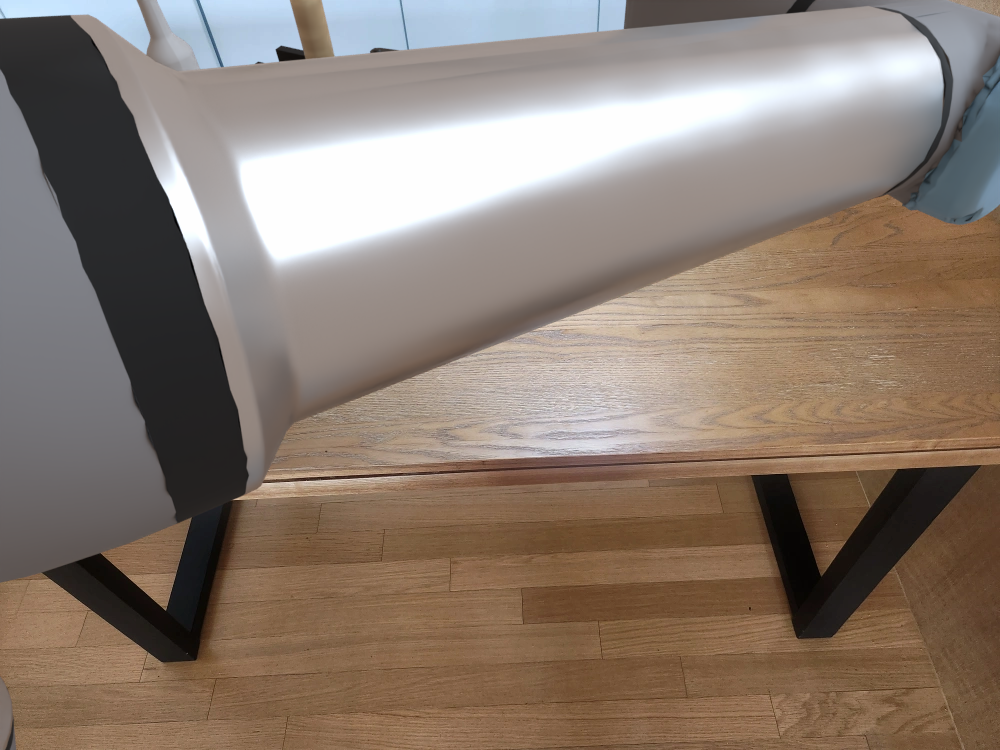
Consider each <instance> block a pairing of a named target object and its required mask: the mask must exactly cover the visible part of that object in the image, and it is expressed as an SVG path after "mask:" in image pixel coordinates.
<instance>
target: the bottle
mask: <svg viewBox="0 0 1000 750" xmlns="http://www.w3.org/2000/svg"><path fill="white" fill-rule="evenodd" d="M136 2H137V5H138V7H139V10H140V12H141V15H142V17H143V21H144V24H145V26H146V29H147V31H148V34H149V43H148V46H147V48H146V53H145V54H146V55H147V56H149V57H150V58H151V59H153V60H154V61H155V62H157V63H160V64H162V65H164V66H167V67H169V68H171V69H174V70H176V71H186V70H197V69H201V67H200V65H199V62H198V59H197V57H196V55H195V52H194V50H193V48H192V46H190V44H189V43H188V42H187V41H186V40H184V39H183V38H181V37H179V36H178V35H176V34H175V33H174V32H173V31H172V29H171V27H170V25H169V23H168V21H167V18H166V17H165V15H164V13H163V10H162V8H161V6H160V4H159V2H158V0H136Z"/></svg>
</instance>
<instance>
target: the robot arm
mask: <svg viewBox="0 0 1000 750" xmlns="http://www.w3.org/2000/svg"><path fill="white" fill-rule="evenodd" d="M275 53H276V56H277V60H278V61H271V62H263V61H257V62H255V63H252V64H242V65H241V64H240V65H231V66H230V65H229V66H219V67H210V68H200V69H197V70H186V71H176V70H174V69H171V68H169V67H167V66H164V65H162V64H160V63H157V62H155V61H154V60H153V59H151V58H150V57H149V56H147V55H146V54H147V53H145V52H143V51H142V50H140V49H139V48H138V47H137V46H135V45H133V43H131V42H129V41H128V40H127V39H125V38H124V37H123V36H121V35H120V34H119V33H117V31H115V30H113V29H112V28H110V27H109V26H108V25H106V24H105V23H103V21H101V20H100V19H98V18H97V17H96V16H92V15H90V14H62V15H44V16H43V15H42V16H24V17H23V16H22V17H5V18H2V17H1V18H0V584H1V583H5V582H10V581H15V580H18V579H19V580H20V579H23V578H29V577H31V576H35V575H38V574H42V573H45V572H47V571H51V570H53V569H57V568H60V567H62V566H65V565H68V564H72V563H75V562H78V561H80V560H84V559H86V558H89V557H93V556H95V555H98V554H101V553H104V552H108V551H111V550H114V549H116V548H120V547H123V546H125V545H128V544H131V543H133V542H135V541H138V540H141V539H143V538H146V537H148V536H151V535H153V534H156V533H158V532H160V531H163V530H166V529H167V528H170V527H172V526H175V525H178V524H180V523H182V522H185V521H187V520H189V519H192V518H194V517H197V516H199V515H201V514H203V513H206V512H209V511H210V510H213V509H215V508H217V507H220V506H222V505H224V504H227V503H229V502H231V501H234V500H236V499H239V498H241V497H243V496H245V495H248V494H249V493H251V492H254V491H256V490H258V489H259V488H260V487H262V485H263V483H264V481H265V480H266V477H267V474H268V472H269V470H270V468H271V466H272V464H273V462H274V459H275V457H276V455H277V453H278V451H279V449H280V447H281V444H282V443H283V440H284V438H285V436H286V434H287V432H288V430H290V428H292V427H293V425H295V424H296V423H298V422H301V421H303V420H306V419H308V418H311V417H314V416H316V415H318V414H321V413H324V412H327V411H330V410H331V409H334V408H337V407H339V406H341V405H344V404H347V403H350V402H352V401H355V400H357V399H359V398H362V397H365V396H367V395H370V394H373V393H376V392H378V391H381V390H383V389H386V388H389V387H392V386H393V385H396V384H399V383H402V382H404V381H406V380H409V379H412V378H414V377H417V376H420V375H422V374H425V373H427V372H430V371H432V370H434V369H437V368H440V367H442V366H445V365H448V364H450V363H453V362H455V361H459V360H460V359H463V358H466V357H469V356H470V355H474V354H477V353H478V352H481V351H484V350H486V349H489V348H491V347H494V346H497V345H499V344H502V343H504V342H507V341H510V340H513V339H514V338H517V337H520V336H523V335H525V334H527V333H530V332H533V331H536V330H538V329H541V328H543V327H545V326H548V325H550V324H553V323H556V322H558V321H561V320H564V319H567V318H569V317H571V316H574V315H577V314H579V313H581V312H584V311H588V310H589V309H592V308H595V307H597V306H600V305H603V304H605V303H607V302H610V301H613V300H615V299H618V298H620V297H623V296H625V295H628V294H631V293H633V292H636V291H639V290H641V289H644V288H646V287H648V286H651V285H654V284H656V283H660V282H661V281H664V280H667V279H668V278H672V277H674V276H677V275H680V274H682V273H684V272H688V271H690V270H693V269H695V268H698V267H701V266H704V265H705V264H708V263H710V262H714V261H717V260H719V259H721V258H724V257H726V256H729V255H731V254H734V253H737V252H740V251H741V250H744V249H747V248H749V247H752V246H755V245H757V244H759V243H762V242H764V241H767V240H770V239H773V238H775V237H778V236H780V235H783V234H785V233H788V232H790V231H793V230H796V229H798V228H801V227H803V226H806V225H809V224H812V223H814V222H816V221H819V220H822V219H824V218H827V217H829V216H831V215H834V214H837V213H839V212H842V211H845V210H848V209H850V208H852V207H853V208H854V207H855V206H858V205H861V204H862V203H865V202H868V201H871V200H874V199H877V198H881V197H885V196H888V195H889V196H890V197H891V198H893V199H894V200H896V201H898V202H899V203H901V207H904V208H906V209H907V210H909V211H918V212H920V213H923V214H925V215H927V216H930V217H932V218H934V219H937V220H939V221H942V222H943V223H945V224H951V225H957V226H960V225H961V226H962V225H968V224H971V223H974V222H976V221H979V220H981V219H982V218H984V217H985V216H987V215H989V214H990V213H991V212H993V211H994V210H996V209H997V208H998V207H999V206H1000V16H999V15H995V14H992V13H989V12H986V11H983V10H980V9H976V8H974V7H971V6H967V5H964V4H961V3H958V2H955V1H951V0H625V10H624V20H623V28H622V29H610V30H601V31H589V32H580V33H578V32H577V33H569V34H557V35H548V36H547V35H545V36H538V37H528V38H527V37H525V38H515V39H505V40H495V41H494V40H493V41H483V42H474V43H462V44H453V45H441V46H433V47H432V46H431V47H421V48H419V47H418V48H410V49H394V48H386V47H373V48H372V49H370V51H369V52H368V53H367V52H366V53H357V54H346V55H337V56H336V55H335V57H324V58H313V59H305V55H304V51H303V49H300V48H294V47H291V46H286V45H280V46H278V47H276V48H275ZM0 750H17V742H16V731H15V717H14V709H13V701H12V698H11V695H10V691H9V688H8V687H7V686H6V683H5V681H4V679H3V678H2V676H0Z"/></svg>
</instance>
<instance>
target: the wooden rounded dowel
mask: <svg viewBox="0 0 1000 750" xmlns="http://www.w3.org/2000/svg"><path fill="white" fill-rule="evenodd" d="M289 3H290V6H291V11H292V14H293V18H294V21H295V25H296V29H297V33H298V36H299V40H300V43H301V47H302V50H303V51H304V55H305V59H313V58H324V57H335V56H336V55H335V51H334V47H333V42H332V39H331V33H330V30H329V25H328V21H327V17H326V13H325V9H324V4H323V0H289Z"/></svg>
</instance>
